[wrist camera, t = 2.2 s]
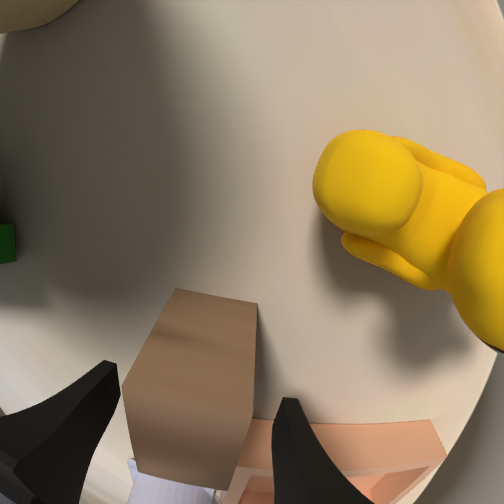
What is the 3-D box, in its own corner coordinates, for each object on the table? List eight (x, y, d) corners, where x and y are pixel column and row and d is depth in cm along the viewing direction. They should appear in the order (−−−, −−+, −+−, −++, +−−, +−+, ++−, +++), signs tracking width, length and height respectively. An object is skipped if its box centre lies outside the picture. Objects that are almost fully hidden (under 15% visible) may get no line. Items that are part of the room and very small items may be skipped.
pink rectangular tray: (372, 485, 21) (379, 515, 17) (221, 483, 21) (217, 519, 17) (430, 419, 18) (447, 455, 14) (239, 416, 17) (235, 466, 13)
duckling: (497, 210, 12) (632, 277, 3) (457, 293, 14) (565, 406, 5) (326, 101, 11) (473, 6, 2) (279, 214, 13) (319, 377, 4)
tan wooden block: (238, 389, 16) (228, 491, 10) (171, 376, 16) (138, 471, 10) (257, 303, 14) (253, 414, 8) (176, 288, 14) (121, 385, 8)
